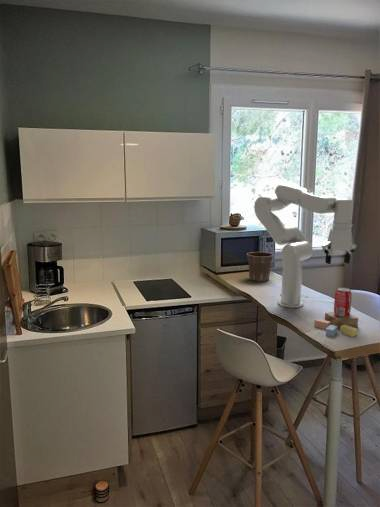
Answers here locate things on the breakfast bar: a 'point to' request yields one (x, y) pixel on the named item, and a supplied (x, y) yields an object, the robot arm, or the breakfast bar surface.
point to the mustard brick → (348, 330)
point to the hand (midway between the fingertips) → (337, 263)
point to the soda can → (342, 302)
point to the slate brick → (331, 330)
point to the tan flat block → (341, 320)
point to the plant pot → (259, 265)
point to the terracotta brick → (322, 323)
